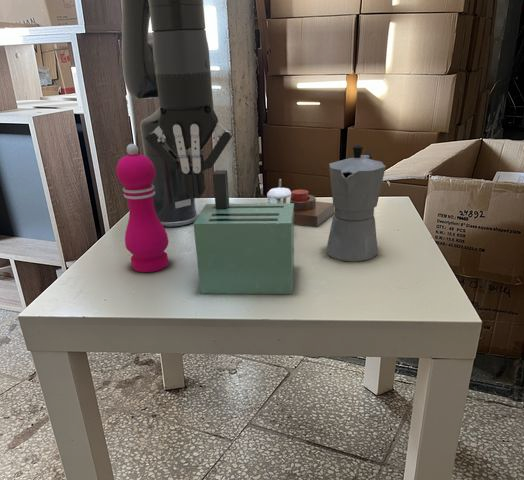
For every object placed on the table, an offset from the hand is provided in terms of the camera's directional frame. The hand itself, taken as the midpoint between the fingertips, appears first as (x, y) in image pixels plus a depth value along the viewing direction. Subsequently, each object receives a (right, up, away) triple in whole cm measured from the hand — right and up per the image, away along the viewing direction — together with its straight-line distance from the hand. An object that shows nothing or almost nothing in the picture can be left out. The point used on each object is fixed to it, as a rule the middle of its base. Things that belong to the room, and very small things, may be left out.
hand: (195, 196), depth 80 cm
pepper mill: (-9, -9, +10) cm, 17 cm away
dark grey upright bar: (+4, -1, +1) cm, 4 cm away
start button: (+18, +8, +30) cm, 36 cm away
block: (+18, +5, +31) cm, 37 cm away
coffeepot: (+27, -6, +13) cm, 30 cm away
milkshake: (+14, -1, +22) cm, 26 cm away
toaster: (+8, -12, +3) cm, 15 cm away
